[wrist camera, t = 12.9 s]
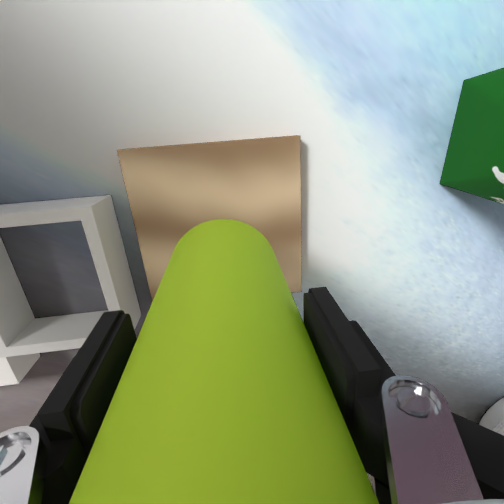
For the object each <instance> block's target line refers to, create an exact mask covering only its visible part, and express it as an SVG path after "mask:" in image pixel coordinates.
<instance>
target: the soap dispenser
mask: <svg viewBox="0 0 504 504" xmlns="http://www.w3.org/2000/svg"><path fill="white" fill-rule="evenodd" d="M69 504H379V502H378V500H377V497H376V495H375V492H374V490H373V488H372V485H371V483H370V481H369V478H368V476H367V473H366V471H365V469H364V466H363V464H362V461H361V459H360V457H359V454H358V452H357V450H356V447H355V445H354V442H353V440H352V438H351V435H350V433H349V430H348V428H347V426H346V423H345V421H344V418H343V416H342V414H341V411H340V409H339V407H338V404H337V402H336V399H335V397H334V395H333V392H332V390H331V387H330V385H329V383H328V380H327V378H326V375H325V373H324V371H323V368H322V366H321V364H320V361H319V359H318V356H317V354H316V352H315V349H314V347H313V344H312V342H311V340H310V337H309V335H308V333H307V330H306V328H305V325H304V323H303V321H302V318H301V316H300V313H299V311H298V309H297V306H296V304H295V301H294V299H293V297H292V294H291V292H290V290H289V287H288V285H287V282H286V280H285V278H284V275H283V273H282V270H281V268H280V266H279V263H278V261H277V258H276V256H275V254H274V251H273V249H272V247H271V245H270V243H269V242H268V240H267V239H266V238H265V237H264V235H263V234H261V233H260V232H259V231H258V230H257V229H255V228H254V227H252V226H250V225H248V224H246V223H244V222H241V221H237V220H231V219H216V220H210V221H207V222H204V223H201V224H199V225H197V226H195V227H193V228H192V229H190V230H189V231H188V232H187V233H186V234H185V235H184V236H183V237H182V238H181V239H180V240H179V242H178V243H177V245H176V247H175V249H174V251H173V253H172V256H171V258H170V261H169V263H168V265H167V268H166V270H165V273H164V275H163V277H162V280H161V282H160V285H159V287H158V289H157V292H156V294H155V297H154V299H153V302H152V304H151V306H150V309H149V311H148V314H147V316H146V318H145V321H144V323H143V326H142V328H141V331H140V333H139V335H138V338H137V340H136V343H135V345H134V347H133V350H132V352H131V355H130V357H129V360H128V362H127V364H126V367H125V369H124V372H123V374H122V376H121V379H120V381H119V384H118V386H117V388H116V391H115V393H114V396H113V398H112V401H111V403H110V405H109V408H108V410H107V413H106V415H105V417H104V420H103V422H102V425H101V427H100V430H99V432H98V434H97V437H96V439H95V442H94V444H93V446H92V449H91V451H90V454H89V456H88V458H87V461H86V463H85V466H84V468H83V471H82V473H81V475H80V478H79V480H78V483H77V485H76V487H75V490H74V492H73V495H72V497H71V500H70V502H69Z"/></svg>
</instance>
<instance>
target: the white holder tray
mask: <svg viewBox="0 0 504 504" xmlns="http://www.w3.org/2000/svg"><path fill="white" fill-rule="evenodd" d="M80 220H81V222H82V225H83V228H84V232H85V235H86V238H87V242H88V245H89V248H90V251H91V255H92V258H93V261H94V265H95V268H96V271H97V275H98V278H99V281H100V284H101V288H102V291H103V294H104V298H105V301H106V304H107V307H108V310H105V311H96V312H87V313H78V314H70V315H61V316H52V317H44V318H35V317H34V315H33V313H32V310H31V308H30V306H29V303H28V301H27V298H26V296H25V294H24V291H23V289H22V287H21V284H20V282H19V279H18V277H17V275H16V272H15V270H14V268H13V265H12V263H11V260H10V258H9V256H8V253H7V251H6V249H5V246H4V244H3V241H2V239H1V237H0V386H4V385H12V384H19V383H20V381H21V380H22V379H23V378H24V376H25V375H26V374H27V373H28V371H29V370H30V369H31V368H32V366H33V365H34V364H35V363H36V361H37V360H38V359H39V358H40V354H39V353H43V352H52V351H60V350H68V349H76V348H81V347H82V345H83V343H84V342H85V340H86V339H87V337H88V336H89V334H90V333H91V331H92V330H93V328H94V326H95V325H96V323H97V322H98V320H99V319H100V317H101V316H102V314H103V313H104V312H108V311H117V310H123V311H124V313H125V314H129V315H130V317H131V320H132V324H133V327H134V331H135V328H136V326H137V324H138V321H139V319H140V317H141V311H140V308H139V304H138V300H137V296H136V292H135V288H134V284H133V280H132V276H131V272H130V268H129V264H128V260H127V257H126V253H125V249H124V245H123V241H122V237H121V233H120V229H119V225H118V221H117V217H116V213H115V209H114V206H113V202H112V198H111V195H103V196H92V197H81V198H70V199H58V200H47V201H36V202H25V203H14V204H2V205H0V228H6V227H16V226H27V225H37V224H48V223H59V222H69V221H80Z"/></svg>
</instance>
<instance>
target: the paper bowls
mask: <svg viewBox="0 0 504 504" xmlns="http://www.w3.org/2000/svg"><path fill="white" fill-rule="evenodd" d="M479 425H481V426H483V427H485V428H488V429H490V430H492V431H495V432H497V433H499V434H501V435H504V397H503V398H502V399H500V400H499V401H497V402H496V403H495V404H494V405H493V406H491V407H490V408H489V409H488V411H487V412H486V413H485V414H484V416H483V417H482V419H481V421H480V423H479Z"/></svg>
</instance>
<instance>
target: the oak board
mask: <svg viewBox="0 0 504 504" xmlns="http://www.w3.org/2000/svg"><path fill="white" fill-rule="evenodd" d="M117 152H118V157H119V161H120V165H121V170H122V174H123V178H124V182H125V187H126V191H127V195H128V200H129V204H130V208H131V212H132V217H133V221H134V225H135V230H136V234H137V238H138V242H139V247H140V251H141V255H142V260H143V264H144V268H145V272H146V277H147V281H148V285H149V290H150V294H151V298H152V302H153V299H154V297H155V294H156V292H157V289H158V287H159V285H160V282H161V280H162V277H163V275H164V273H165V270H166V268H167V265H168V263H169V261H170V258H171V256H172V253H173V251H174V249H175V247H176V245H177V243H178V242H179V240H180V239H181V238H182V237H183V236H184V235H185V234H186V233H187V232H188V231H189V230H190V229H192V228H193V227H195V226H197V225H199V224H201V223H204V222H207V221H210V220H216V219H231V220H237V221H241V222H244V223H246V224H248V225H250V226H252V227H254V228H255V229H257V230H258V231H259V232H260V233H261V234H263V235H264V237H265V238H266V239H267V240H268V242H269V243H270V245H271V247H272V249H273V251H274V254H275V256H276V258H277V261H278V263H279V266H280V268H281V270H282V273H283V275H284V278H285V280H286V282H287V285H288V287H289V290H290V292H291V293H293V292H302V286H301V162H300V136H299V135H295V136H283V137H270V138H258V139H245V140H232V141H220V142H207V143H195V144H182V145H169V146H157V147H144V148H131V149H120V150H117Z"/></svg>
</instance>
